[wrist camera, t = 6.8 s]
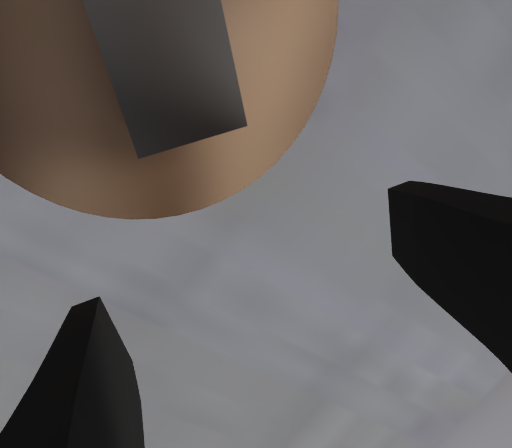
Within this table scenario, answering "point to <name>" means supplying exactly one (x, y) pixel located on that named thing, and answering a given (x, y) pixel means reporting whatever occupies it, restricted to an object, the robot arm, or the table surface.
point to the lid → (155, 97)
